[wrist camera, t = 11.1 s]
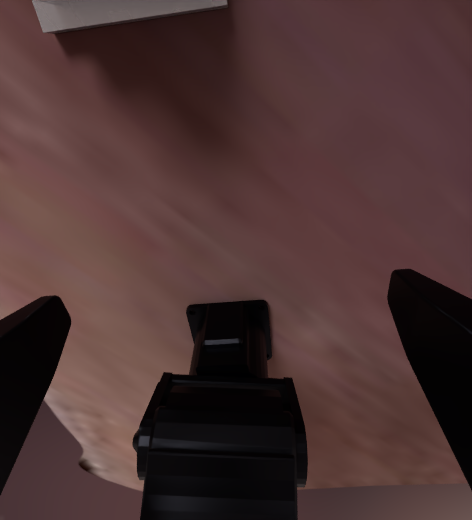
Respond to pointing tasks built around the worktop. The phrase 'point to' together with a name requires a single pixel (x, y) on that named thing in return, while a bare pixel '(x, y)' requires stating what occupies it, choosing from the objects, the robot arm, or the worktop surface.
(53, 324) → the robot arm
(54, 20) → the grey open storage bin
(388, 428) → the worktop surface
